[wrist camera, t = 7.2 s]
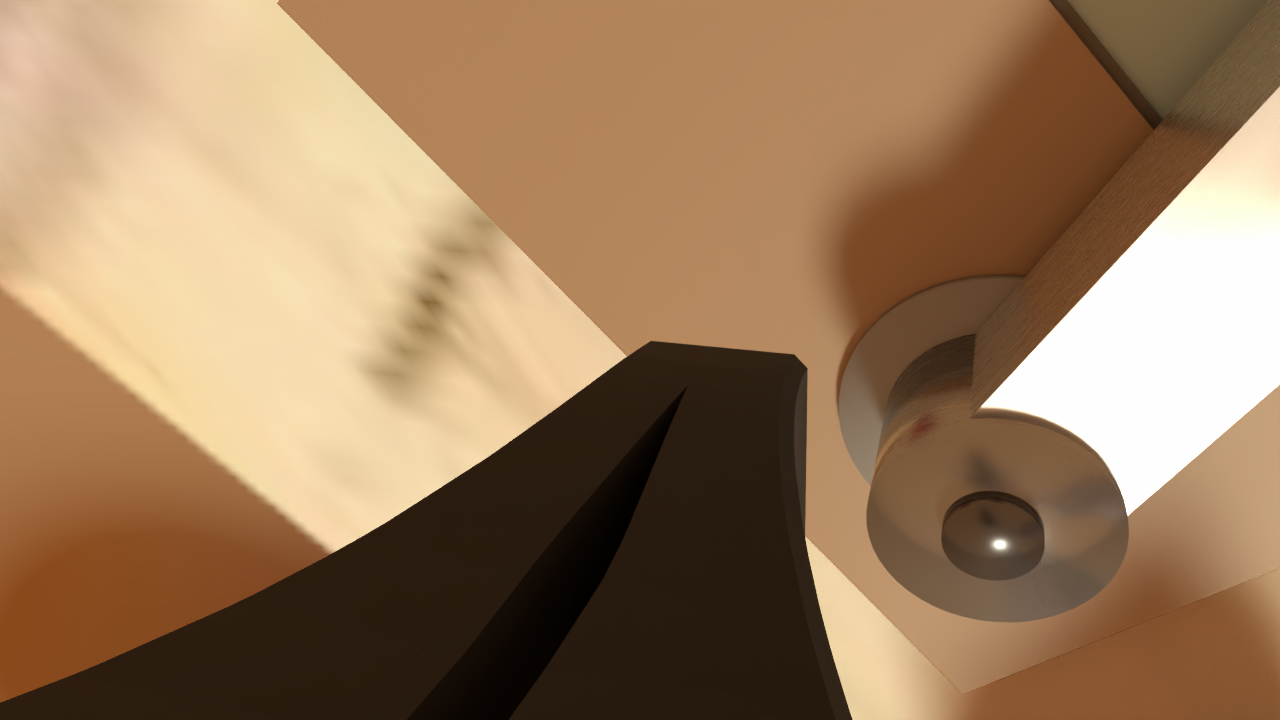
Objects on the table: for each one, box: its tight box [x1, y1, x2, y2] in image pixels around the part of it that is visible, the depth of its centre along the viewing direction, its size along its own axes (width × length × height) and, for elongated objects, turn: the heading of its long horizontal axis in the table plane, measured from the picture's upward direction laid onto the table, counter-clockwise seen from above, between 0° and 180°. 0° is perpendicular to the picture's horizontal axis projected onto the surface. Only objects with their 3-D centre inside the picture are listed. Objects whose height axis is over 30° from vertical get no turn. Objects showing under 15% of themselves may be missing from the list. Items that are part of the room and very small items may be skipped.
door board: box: [277, 0, 1280, 694], centre depth 15 cm, size 18×18×3 cm
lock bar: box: [866, 0, 1280, 623], centre depth 14 cm, size 14×4×3 cm, turn 154°
